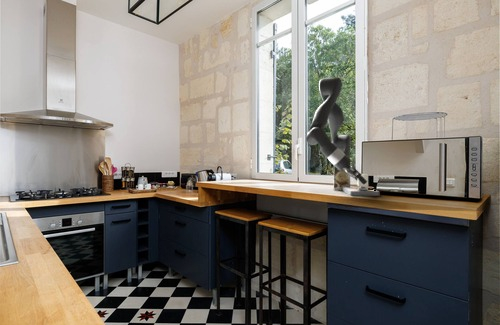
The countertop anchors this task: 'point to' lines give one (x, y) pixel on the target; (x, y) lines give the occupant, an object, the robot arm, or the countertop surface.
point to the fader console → (361, 192)
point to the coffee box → (341, 179)
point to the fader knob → (363, 184)
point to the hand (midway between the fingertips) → (363, 182)
